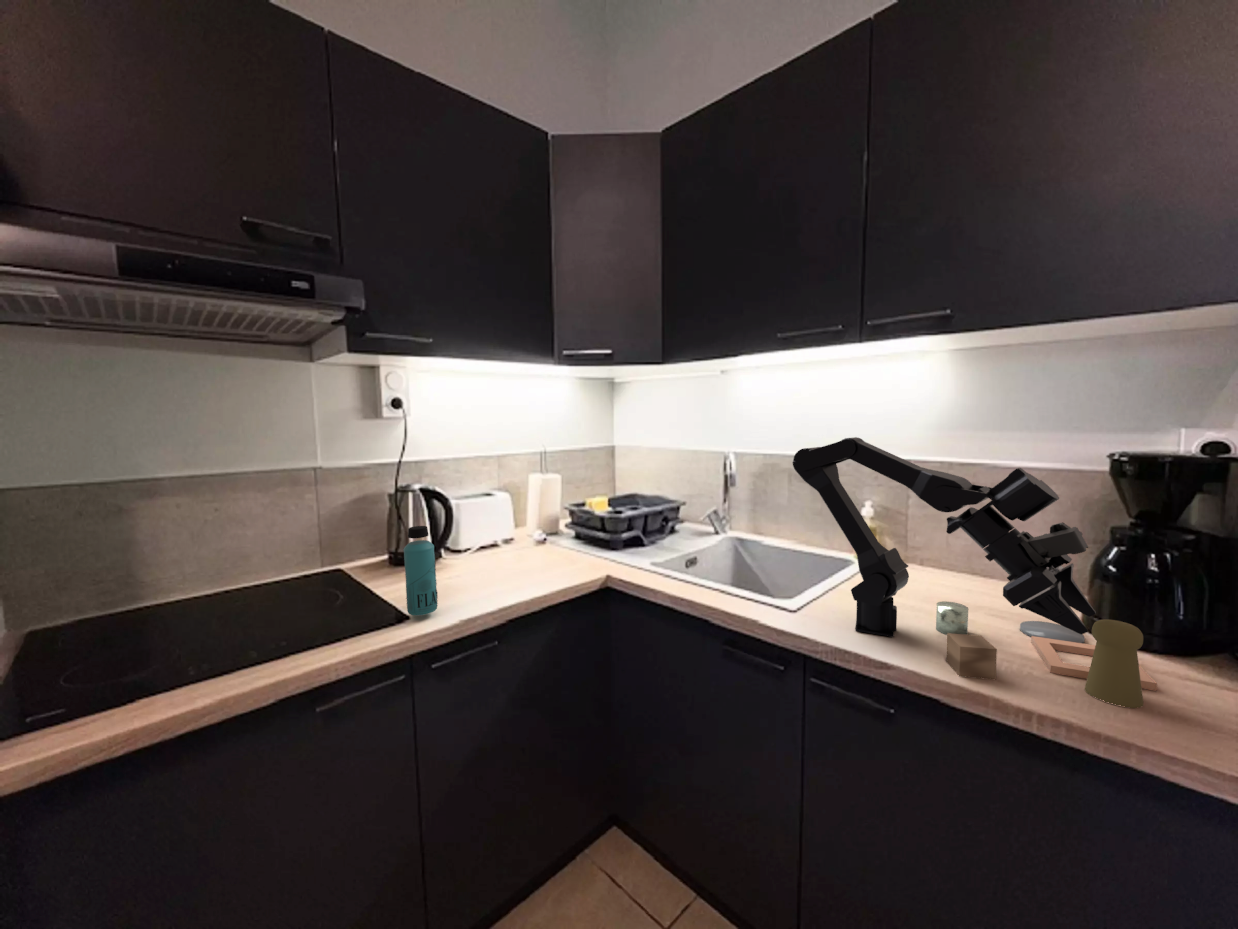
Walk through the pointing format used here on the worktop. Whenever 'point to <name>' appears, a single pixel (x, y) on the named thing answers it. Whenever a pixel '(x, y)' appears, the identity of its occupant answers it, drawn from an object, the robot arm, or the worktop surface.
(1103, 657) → the olive pepper mill
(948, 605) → the sage tin
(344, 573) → the worktop surface
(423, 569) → the beverage bottle
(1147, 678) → the hole frame
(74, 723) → the worktop surface
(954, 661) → the walnut block
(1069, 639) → the slate coaster
